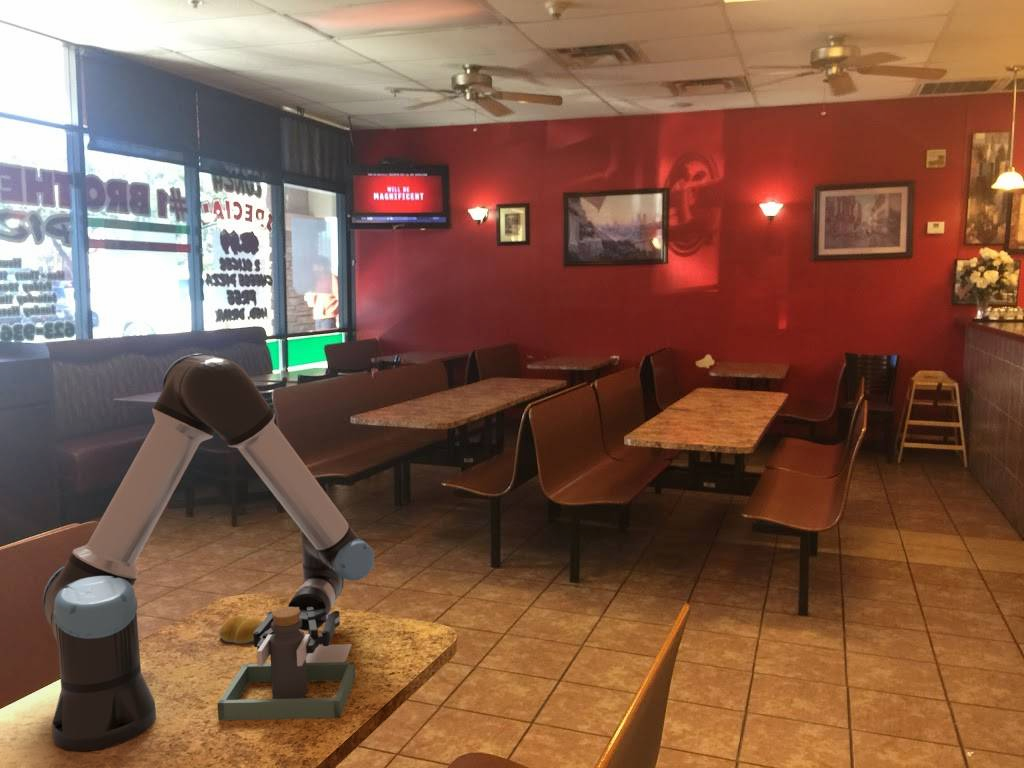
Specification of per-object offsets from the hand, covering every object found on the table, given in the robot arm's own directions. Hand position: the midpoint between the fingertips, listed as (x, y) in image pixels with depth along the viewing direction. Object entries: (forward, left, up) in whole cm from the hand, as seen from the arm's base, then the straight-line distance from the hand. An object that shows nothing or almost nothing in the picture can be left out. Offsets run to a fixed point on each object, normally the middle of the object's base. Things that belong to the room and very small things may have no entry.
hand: (279, 658), depth 138 cm
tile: (0, +20, -10) cm, 22 cm away
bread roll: (-16, +31, -10) cm, 37 cm away
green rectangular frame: (0, +5, -10) cm, 11 cm away
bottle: (0, +5, -9) cm, 11 cm away
